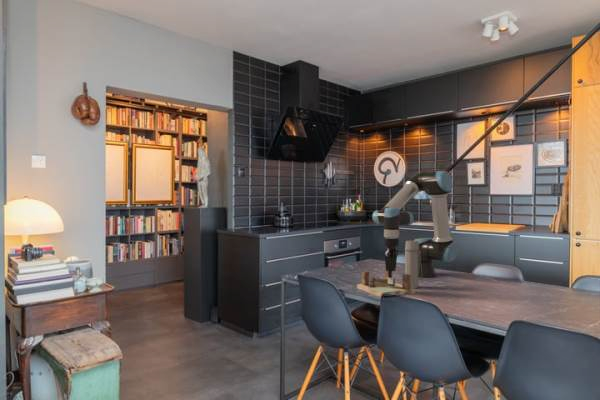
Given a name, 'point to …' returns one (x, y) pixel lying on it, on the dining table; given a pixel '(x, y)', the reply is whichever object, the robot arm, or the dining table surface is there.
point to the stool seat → (402, 288)
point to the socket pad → (384, 289)
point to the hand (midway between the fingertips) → (390, 283)
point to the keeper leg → (380, 282)
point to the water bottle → (412, 262)
